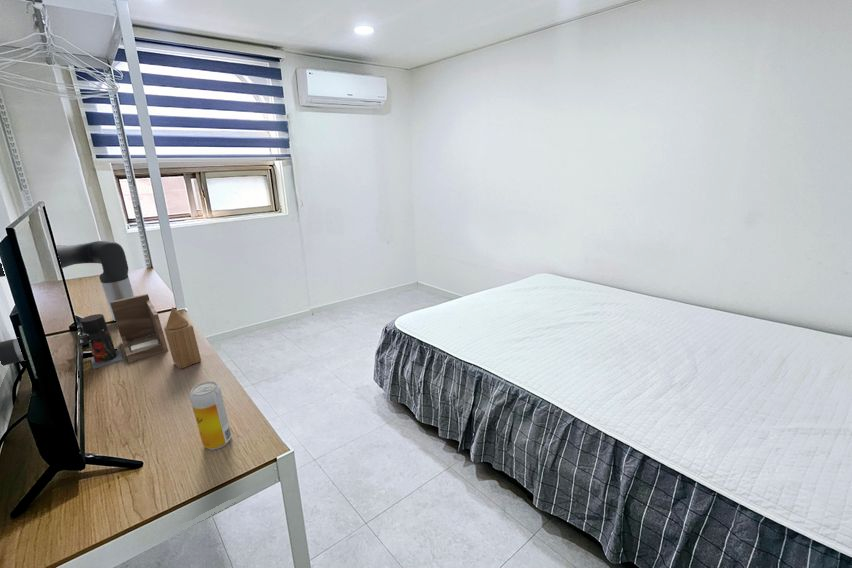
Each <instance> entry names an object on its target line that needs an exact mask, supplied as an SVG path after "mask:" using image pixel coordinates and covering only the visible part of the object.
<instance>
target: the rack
mask: <svg viewBox="0 0 852 568" xmlns="http://www.w3.org/2000/svg"><path fill="white" fill-rule="evenodd" d="M110 305H111V308H112V311H113V314H114V317H115V320H116V322H115V323H116V327H117V329H118V332H119V334H120V335H119V336H120V338H121V342H122V345H123V349H124V352H125V354H126V355H125V356H126V358H127V361H128V363H131V362H135V361H137V360H141V359H145V358H148V357H151V356H154V355H155V356H156V355H158V354H162V353H165V352H168V351H169V349H168V345H167V344H168V343H167V341H166V336H165V334H164V331H163V327H162V323H161V320H160V317H159V313H158V312H157V310H156V309H155V306H154V305H153V303H152V302H151V300H150V296H149V294H148V293H145V294H140V295H134V297H130V298H125V299H120V300H116V301H111V302H110ZM152 336H156V339H157V340H158V343H159V344H160V345H156V346H153V347H149V348H146V349H142V350H139V351H135V352H132V351H131V349H130V348H129V342H132V341H136V340H140V339H143V338H147V337H152Z"/></svg>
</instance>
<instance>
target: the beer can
mask: <svg viewBox="0 0 852 568" xmlns="http://www.w3.org/2000/svg"><path fill="white" fill-rule="evenodd" d="M189 399H190V404H191V406H192V410H193V414H194V417H195V421H196V424H197V428H198V431H199V435H200V439H201V443H202V446H203V447H204V448H205V449H208V450H211V451H214V450H219V449H221V448H223V447H224V446H226V445H228V443H229V441H230V439H232V431H231V426H230V422H229V420H228V414H227V411H226V410H227V409H226V407H225V403H224V398H223V395H222V389H221V387H220V386H219V384H218V383H217V382H216V381H210V380H209V381H205V382H201V383H199V384H197V385H195V386H194V387H192V388H191V390H190V395H189Z"/></svg>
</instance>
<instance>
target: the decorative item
mask: <svg viewBox="0 0 852 568" xmlns="http://www.w3.org/2000/svg"><path fill="white" fill-rule="evenodd" d="M167 319H168V320H167V321H166V326H165V327H164V332H165V338H166V340H167V344H168V347H169V351H170V354H171V358H172V362H173V363H174V364H175V366H176V367H178V369H181V370H182V369H185V368H188V367H191V366H192V364H193V365H195V364H197V363H200V362H201V361H202V358H201V355H200V354H201V353H200V350H199V346H198V342H197V341H198V340H197V337H196V334H195V330H194V326H193V325H192V324H191V323H190V322H189V321H188V320H187V319H186V318H185V317H184V316H183V315H182V314H181V313H180V312H179V311H178V310H177V309H176V308H175V307H173V306H172V307H171V310H170V314H169V316H168V318H167Z"/></svg>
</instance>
